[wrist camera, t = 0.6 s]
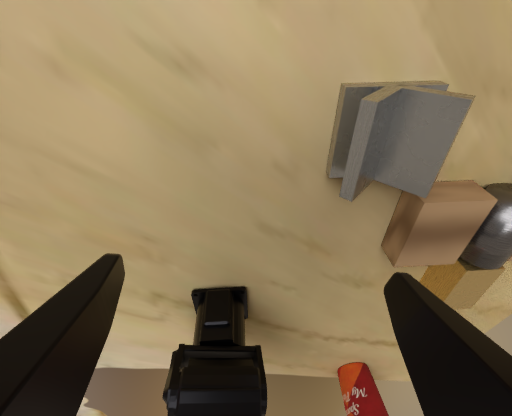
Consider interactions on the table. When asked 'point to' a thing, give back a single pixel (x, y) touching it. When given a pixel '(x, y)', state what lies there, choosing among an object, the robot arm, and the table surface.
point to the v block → (394, 134)
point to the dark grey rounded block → (493, 232)
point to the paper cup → (360, 391)
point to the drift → (459, 282)
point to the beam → (436, 224)
